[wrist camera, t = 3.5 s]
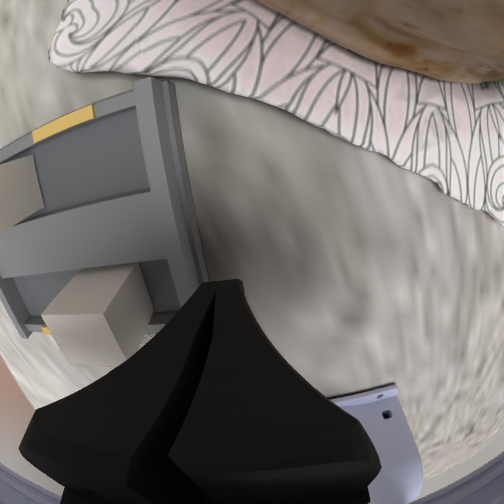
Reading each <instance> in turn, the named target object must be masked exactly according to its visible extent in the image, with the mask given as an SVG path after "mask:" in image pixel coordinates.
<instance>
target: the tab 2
mask: <svg viewBox="0 0 504 504" xmlns="http://www.w3.org/2000/svg"><path fill="white" fill-rule="evenodd" d="M153 312H154V307H153V304H152V302H151V299H150V296H149V293H148V290H147V287H146V284H145V281H144V278H143V275H142V272H141V269H140V266H139V263H138V262H133V263H125V264H117V265H108V266H100V267H92V268H83V269H80V270H79V271H78V273H77V274H76V275H75V276H74V277H73V278H72V279H71V280H70V281H69V282H68V283H67V285H66V286H65V287H64V288H63V289H62V290H61V291H60V292H59V294H58V295H57V296H56V297H55V298H54V299H53V301H52V302H51V303H50V304H49V305H48V306H47V308H46V309H45V310H44V311H43V313H42V314H41V316H42V318H43V320H44V322H45V324H46V326H47V327H48V329H49V331H50V333H51V334H52V336H53V338H54V339H55V341H56V343H57V345H58V346H59V348H60V349H61V351H62V353H63V354H64V356H65V357H66V359H67V360H68V362H69V363H74V364H84V365H96V366H110V367H117V366H119V365H120V364H122V363H123V362H124V361H126V360H127V359H129V358H130V357H131V356H132V355H134V354H135V353H136V352H137V350H138V348H139V345H140V343H141V340H142V338H143V335H144V333H145V330H146V328H147V326H148V323H149V321H150V319H151V316H152V314H153Z"/></svg>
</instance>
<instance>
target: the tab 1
mask: <svg viewBox="0 0 504 504" xmlns="http://www.w3.org/2000/svg"><path fill="white" fill-rule="evenodd" d="M44 207H45V206H44V202H43V198H42V194H41V190H40V186H39V182H38V177H37V173H36V168H35V163H34V158H33V155H30V156H26V157H23V158H19V159H16V160H13V161H10V162H7V163H4V164H1V165H0V234H1V233H3V232H4V231H6V230H7V229H9V228H10V227H12V226H13V225H15V224H17V223H18V222H20V221H21V220H23V219H25V218H26V217H28V216H30V215H31V214H33V213H35V212H37V211H38V210H40V209H42V208H44Z"/></svg>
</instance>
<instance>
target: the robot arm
mask: <svg viewBox="0 0 504 504" xmlns="http://www.w3.org/2000/svg"><path fill="white" fill-rule="evenodd" d="M398 390H399V389H398V387H397V385H391V386H387V387H384V388H380V389H376V390H372V391H368V392H364V393H359V394H355V395H350V396H346V397H341V398H335V399H330V400H329V399H328V398H326V397H325V396H324V395H323V394H321V393H320V392H319V391H318V390H317V389H315V388H314V387H313V386H312V385H311V384H309V383H308V382H307V381H306V380H305V379H304V378H303V377H302V376H301V375H300V374H299V373H298V372H297V371H296V370H295V369H294V368H293V367H292V366H291V365H290V364H289V363H288V362H287V361H286V360H285V359H284V358H283V357H282V355H281V354H280V353H279V352H278V351H277V349H276V348H275V347H274V346H273V344H272V343H271V342H270V340H269V339H268V338H267V336H266V335H265V333H264V332H263V330H262V329H261V327H260V326H259V324H258V322H257V321H256V319H255V317H254V315H253V313H252V311H251V309H250V307H249V305H248V303H247V301H246V298H245V295H244V288H243V282H242V281H241V280H239V279H234V280H224V281H214V282H204V283H202V284H201V285H200V286H199V287H198V288H197V290H196V291H195V292H194V293H193V294H192V295H191V297H190V298H189V299H188V300H187V301H186V303H185V304H184V305H183V306H182V307H181V308H180V310H179V311H178V312H177V313H176V314H175V315H174V316H173V318H172V319H171V320H170V321H169V322H168V323H167V324H166V325H165V326H164V327H163V328H162V329H161V330H160V331H159V332H158V333H157V334H156V335H155V336H154V337H153V338H152V339H151V340H150V341H149V342H148V343H146V344H145V345H144V346H143V347H142V348H141V349H140V350H138V351H137V352H136V353H135V354H134V355H132V356H131V357H130V358H129V359H127V360H126V361H124V362H123V363H122V364H120V365H119V366H117V367H116V368H115V369H113V370H112V371H110V372H109V373H107V374H106V375H105V376H103V377H101V378H100V379H98V380H97V381H95V382H93V383H92V384H90V385H88V386H86V387H84V388H83V389H81V390H79V391H77V392H75V393H73V394H71V395H69V396H67V397H65V398H63V399H60V400H58V401H56V402H53V403H51V404H49V405H46V406H44V407H41V408H39V409H36V411H35V413H34V415H33V417H32V419H31V421H30V423H29V426H28V428H27V430H26V432H25V434H24V437H23V439H22V441H21V444H20V446H19V450H20V453H21V454H22V456H23V457H24V458H25V459H26V460H27V461H28V462H30V463H31V464H32V465H33V466H35V467H36V468H37V469H39V470H40V471H41V472H43V473H45V474H46V475H47V476H49V477H50V478H52V479H53V480H55V481H56V482H58V483H59V484H61V485H63V486H64V487H65V488H64V491H63V495H62V497H61V496H59V495H57V494H55V493H52V492H50V491H48V490H46V489H44V488H42V487H40V486H38V485H36V484H35V483H33V482H31V481H29V480H27V479H25V478H23V477H22V476H20V475H18V474H17V473H15V472H13V471H12V470H10V469H9V468H7V467H5V466H4V465H2V464H1V463H0V504H407V503H408V504H504V452H502V453H501V454H500V455H498V456H497V457H495V458H494V459H492V460H491V461H489V462H488V463H487V464H485V465H483V466H482V467H480V468H478V469H477V470H475V471H473V472H472V473H470V474H468V475H467V476H465V477H463V478H461V479H459V480H458V481H456V482H454V483H452V484H450V485H448V486H446V487H444V488H442V489H440V490H438V491H436V492H434V493H432V494H430V495H427V496H425V497H423V498H420V499H418V500H416V501H413V500H414V499H416V498H417V497H418V495H419V494H420V492H421V489H422V486H423V465H422V460H421V457H420V454H419V451H418V448H417V445H416V443H415V440H414V438H413V435H412V432H411V430H410V427H409V425H408V422H407V420H406V417H405V415H404V413H403V410H402V408H401V405H400V403H399V401H398V398H397V396H396V395H397V393H398ZM411 501H413V502H411ZM409 502H411V503H409Z"/></svg>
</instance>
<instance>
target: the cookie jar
mask: <svg viewBox="0 0 504 504" xmlns="http://www.w3.org/2000/svg"><path fill="white" fill-rule="evenodd" d="M48 54H49V60H50V62H51V63H52V64H53V65H55V66H56V67H58V68H61V69H65V70H68V71H70V72H74V73H87V72H101V71H113V72H121V73H125V74H136V75H147V76H160V77H173V78H183V79H191V80H193V81H196V82H199V83H203V84H207V85H210V86H212V87H215V88H217V89H220V90H222V91H225V92H228V93H232V94H236V95H241V96H245V97H249V98H253V99H256V100H259V101H262V102H265V103H268V104H271V105H273V106H276V107H279V108H281V109H284V110H286V111H288V112H290V113H292V114H294V115H296V116H298V117H300V118H301V119H303V120H305V121H307V122H309V123H311V124H313V125H314V126H316V127H320V128H323V129H326V130H327V131H328V132H330V133H331V134H332V135H334V136H336V137H339V138H341V139H344V140H346V141H348V142H350V143H353V144H355V145H357V146H359V147H362V148H365V149H367V150H370V151H372V152H378V153H382V154H384V155H385V156H387V157H389V158H390V159H391V160H392V161H393V162H395V163H396V164H397V165H398V166H399V167H402V168H404V169H407V170H410V171H413V172H415V173H418V174H421V175H423V176H425V177H427V178H429V179H431V180H432V181H434V182H436V183H437V184H438V186H439V187H440V188H441V190H442V191H443V192H444V194H445V195H448V196H451V197H454V198H456V199H457V200H459V201H460V202H461V204H467V205H468V206H469V207H470V208H471V209H478V210H485V211H486V212H487V213H489V214H490V215H491V216H492V217H493V218H494V219H495V220H496V221H497V222H498V223H499V224H500V225H501V226H502V227H504V0H68V1H67V4H66V6H65V8H64V10H63V13H62V16H61V23H60V24H59V26H58V27H57V29H56V30H55V37H54V40H53V42H52V44H51V47H50V49H49V51H48Z"/></svg>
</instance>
